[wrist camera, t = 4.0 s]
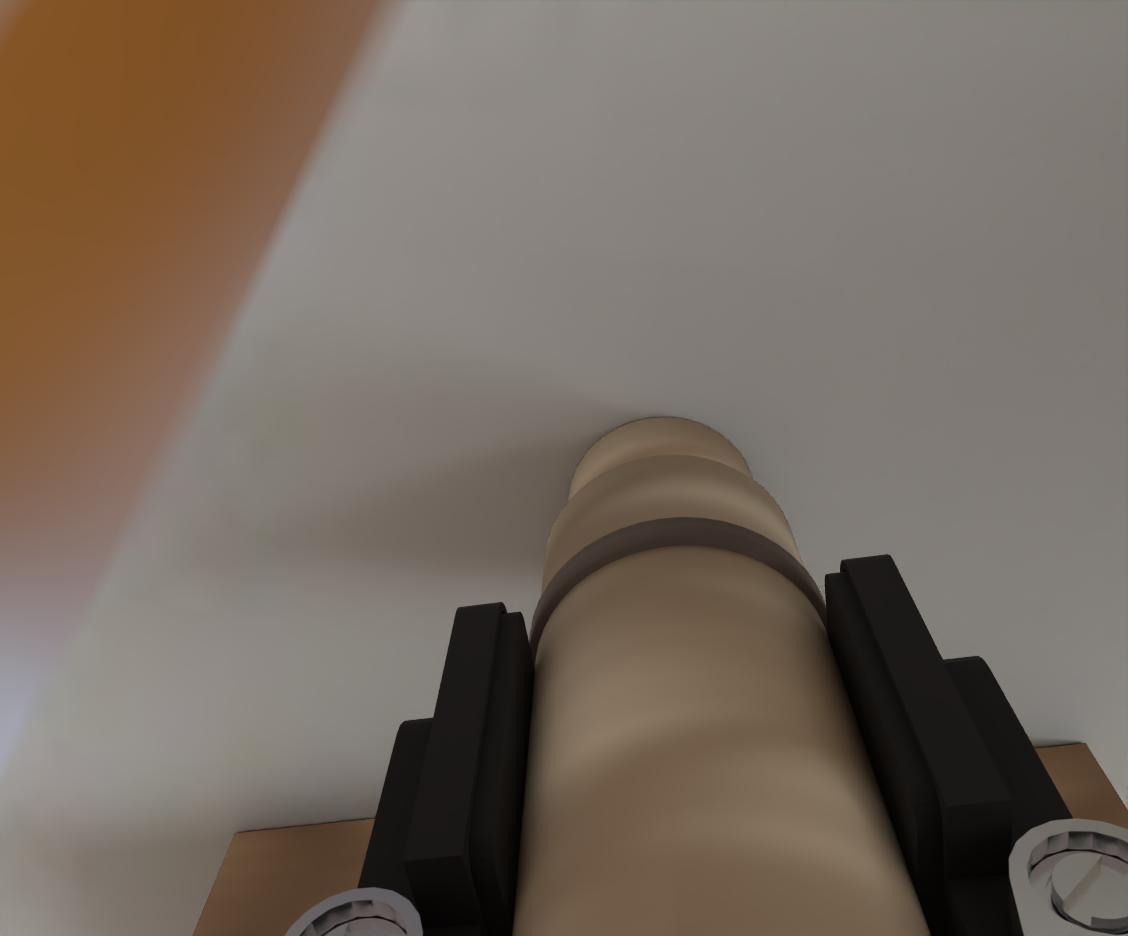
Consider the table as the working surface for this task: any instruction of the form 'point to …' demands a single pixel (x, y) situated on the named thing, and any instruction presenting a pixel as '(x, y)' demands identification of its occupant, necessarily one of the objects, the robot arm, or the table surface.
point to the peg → (693, 717)
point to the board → (337, 850)
